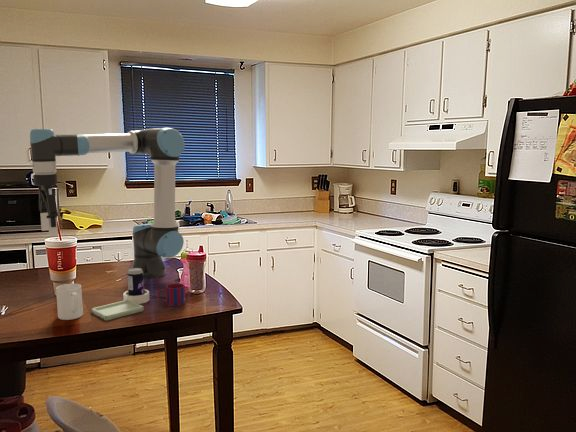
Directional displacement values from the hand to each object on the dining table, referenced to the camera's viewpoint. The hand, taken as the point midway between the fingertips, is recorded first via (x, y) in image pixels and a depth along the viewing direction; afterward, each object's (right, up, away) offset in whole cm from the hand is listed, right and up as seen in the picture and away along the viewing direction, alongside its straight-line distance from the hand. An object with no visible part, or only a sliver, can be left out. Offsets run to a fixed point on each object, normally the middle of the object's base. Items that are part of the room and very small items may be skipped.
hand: (49, 233), depth 182 cm
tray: (+25, -28, -2) cm, 37 cm away
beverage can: (+28, -26, +10) cm, 40 cm away
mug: (+12, -29, -8) cm, 32 cm away
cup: (+42, -27, +6) cm, 50 cm away
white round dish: (+28, -26, +10) cm, 39 cm away
